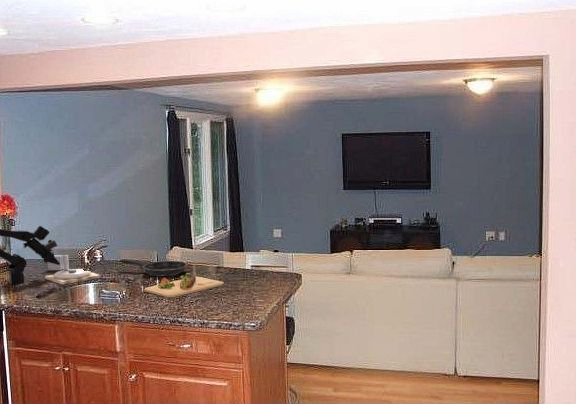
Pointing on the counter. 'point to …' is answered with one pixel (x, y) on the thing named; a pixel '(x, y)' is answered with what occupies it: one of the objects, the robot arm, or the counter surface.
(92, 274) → the dial base
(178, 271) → the frying pan
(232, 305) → the counter surface
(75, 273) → the white base with post
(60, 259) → the medicine box
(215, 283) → the cutting board
